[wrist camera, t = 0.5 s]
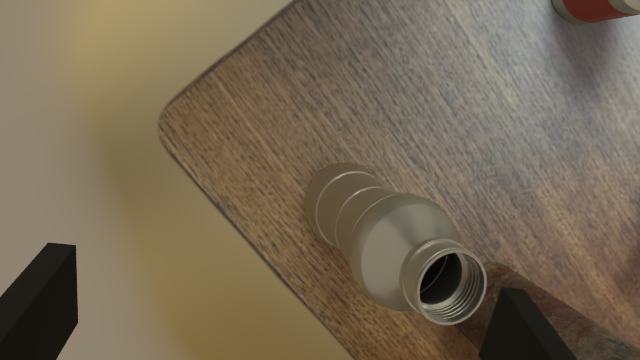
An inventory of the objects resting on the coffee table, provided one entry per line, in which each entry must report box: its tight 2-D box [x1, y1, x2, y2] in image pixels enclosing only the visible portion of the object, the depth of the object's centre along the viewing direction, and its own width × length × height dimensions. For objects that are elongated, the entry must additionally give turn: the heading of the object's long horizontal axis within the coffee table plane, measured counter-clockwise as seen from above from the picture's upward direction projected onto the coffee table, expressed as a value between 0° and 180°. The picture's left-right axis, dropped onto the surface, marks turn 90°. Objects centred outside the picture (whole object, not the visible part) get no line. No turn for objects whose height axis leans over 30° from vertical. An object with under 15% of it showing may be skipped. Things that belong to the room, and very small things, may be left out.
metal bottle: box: [305, 163, 487, 325], centre depth 33 cm, size 6×7×20 cm
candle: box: [455, 263, 640, 360], centre depth 38 cm, size 8×7×20 cm
